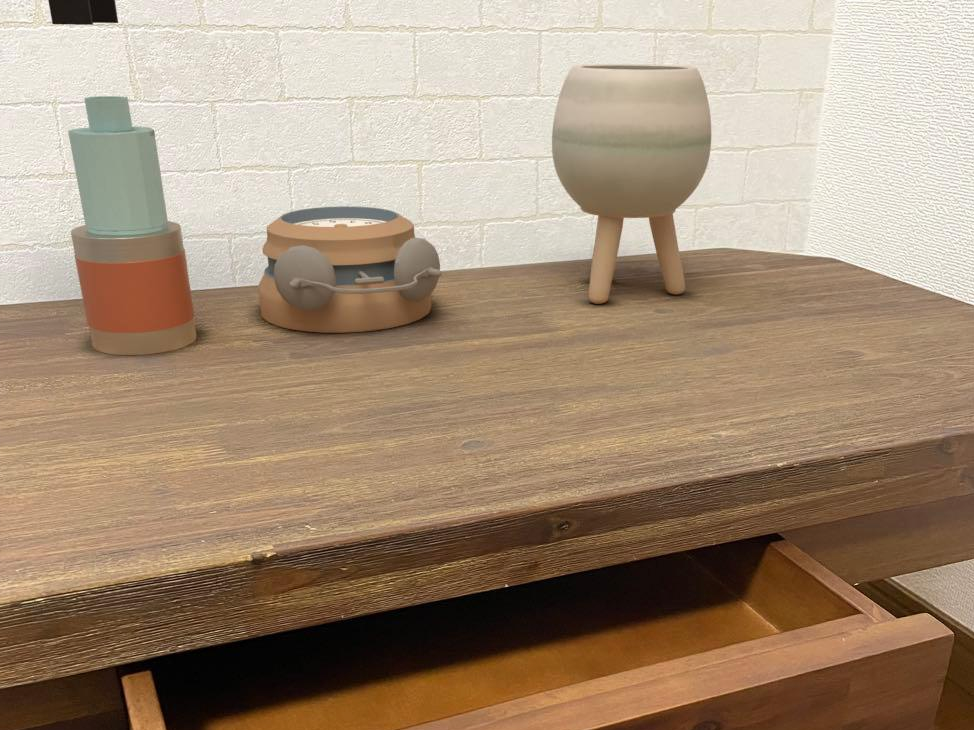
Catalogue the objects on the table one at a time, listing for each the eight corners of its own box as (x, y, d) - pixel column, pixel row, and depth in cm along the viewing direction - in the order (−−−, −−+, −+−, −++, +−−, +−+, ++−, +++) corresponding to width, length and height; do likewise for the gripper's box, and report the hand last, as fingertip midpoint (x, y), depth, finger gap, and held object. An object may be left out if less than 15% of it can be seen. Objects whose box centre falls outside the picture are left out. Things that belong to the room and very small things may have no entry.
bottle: (75, 235, 87) (49, 100, 82) (102, 221, 93) (79, 94, 89) (155, 235, 88) (134, 101, 83) (176, 221, 94) (158, 95, 89)
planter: (572, 315, 104) (577, 71, 94) (535, 279, 118) (536, 63, 108) (722, 307, 108) (743, 70, 97) (669, 273, 121) (682, 63, 111)
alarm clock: (401, 198, 111) (471, 237, 92) (405, 284, 115) (473, 339, 96) (237, 206, 105) (277, 251, 86) (248, 297, 109) (288, 359, 90)
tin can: (76, 355, 91) (53, 238, 86) (110, 327, 99) (91, 219, 94) (182, 355, 91) (164, 238, 86) (208, 327, 99) (193, 219, 95)
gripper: (56, -363, 63) (115, 26, 73) (114, -268, 85) (154, 22, 94) (-79, -375, 62) (0, 24, 71) (15, -274, 83) (66, 21, 93)
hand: (88, 24), depth 83 cm, fingers open, 13 cm apart
